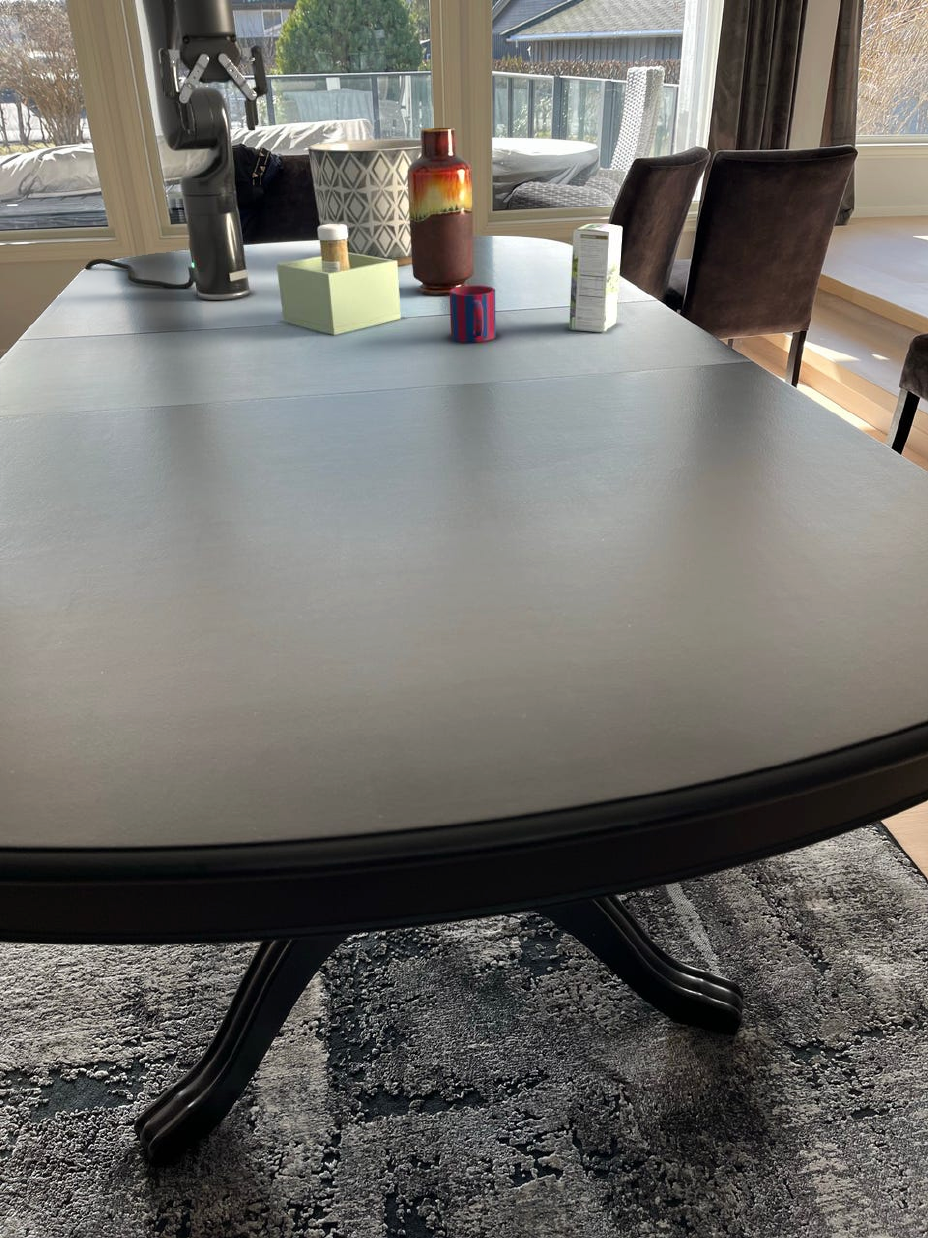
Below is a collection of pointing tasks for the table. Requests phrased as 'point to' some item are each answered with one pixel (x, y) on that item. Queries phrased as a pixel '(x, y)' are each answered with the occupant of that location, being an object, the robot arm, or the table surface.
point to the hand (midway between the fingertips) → (221, 131)
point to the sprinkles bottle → (333, 247)
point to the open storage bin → (339, 294)
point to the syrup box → (595, 277)
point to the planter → (367, 193)
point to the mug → (472, 313)
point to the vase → (440, 214)
